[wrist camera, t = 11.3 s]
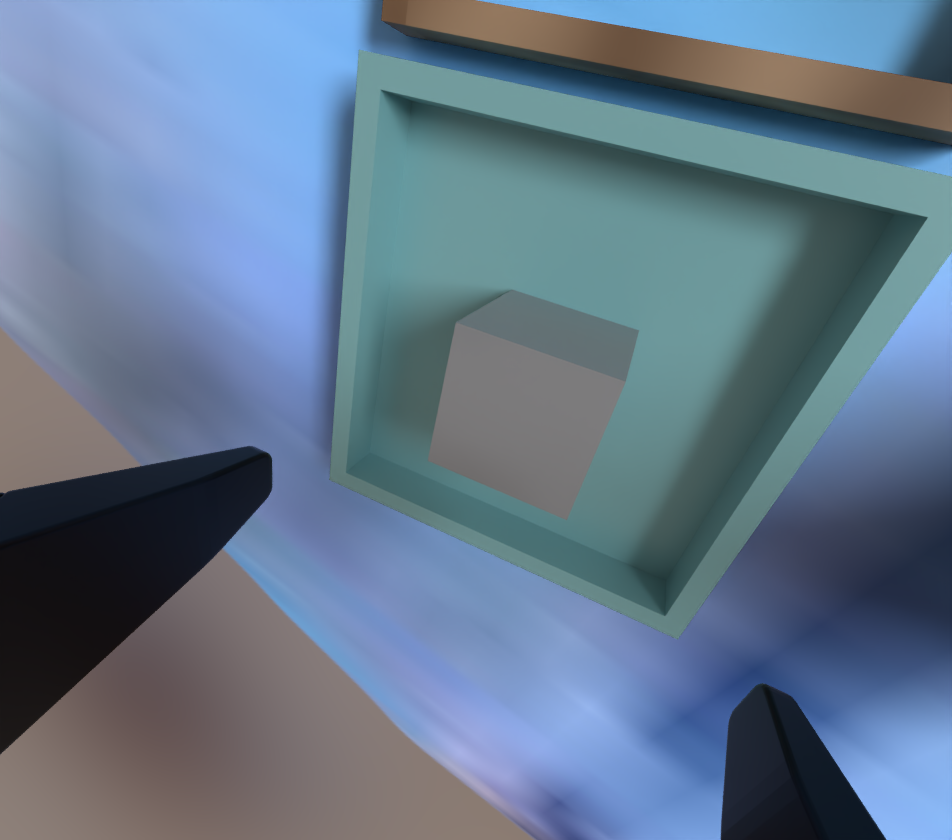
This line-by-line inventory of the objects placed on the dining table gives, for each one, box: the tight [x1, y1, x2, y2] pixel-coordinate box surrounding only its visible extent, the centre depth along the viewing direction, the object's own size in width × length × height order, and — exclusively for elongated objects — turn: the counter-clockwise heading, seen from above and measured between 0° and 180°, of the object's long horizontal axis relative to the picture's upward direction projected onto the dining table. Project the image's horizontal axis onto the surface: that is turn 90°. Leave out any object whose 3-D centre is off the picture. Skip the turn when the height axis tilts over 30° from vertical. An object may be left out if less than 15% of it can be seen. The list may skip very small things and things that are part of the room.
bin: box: [329, 50, 952, 639], centre depth 16 cm, size 16×16×2 cm
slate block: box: [428, 290, 639, 520], centre depth 15 cm, size 4×4×5 cm
